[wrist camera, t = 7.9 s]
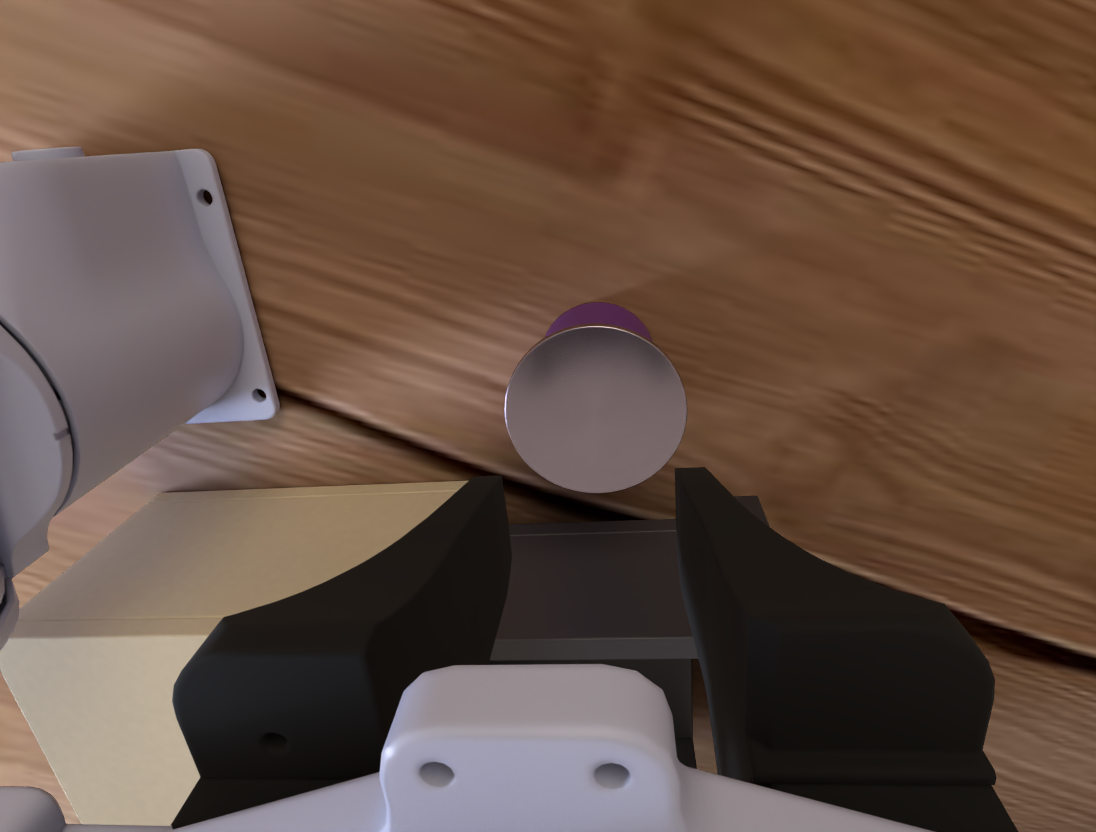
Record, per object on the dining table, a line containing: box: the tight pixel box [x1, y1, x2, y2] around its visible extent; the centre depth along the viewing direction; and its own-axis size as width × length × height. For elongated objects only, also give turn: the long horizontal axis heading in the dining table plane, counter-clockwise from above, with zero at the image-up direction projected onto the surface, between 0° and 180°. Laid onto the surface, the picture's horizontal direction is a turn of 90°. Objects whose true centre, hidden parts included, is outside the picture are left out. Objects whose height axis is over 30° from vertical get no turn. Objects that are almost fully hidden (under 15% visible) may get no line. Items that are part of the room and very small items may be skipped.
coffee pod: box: [505, 302, 687, 493], centre depth 22 cm, size 5×5×5 cm
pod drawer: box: [488, 496, 769, 769], centre depth 24 cm, size 17×12×7 cm
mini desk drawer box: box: [0, 481, 468, 826], centre depth 26 cm, size 14×14×9 cm
